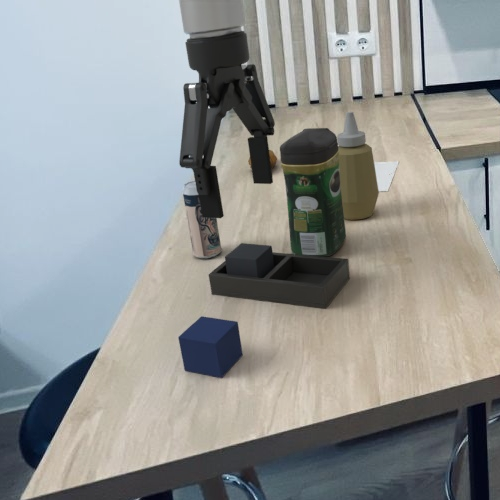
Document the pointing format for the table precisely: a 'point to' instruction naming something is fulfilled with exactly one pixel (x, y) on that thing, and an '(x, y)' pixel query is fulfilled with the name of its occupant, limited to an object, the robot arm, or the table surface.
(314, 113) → the table surface
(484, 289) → the table surface
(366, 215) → the squeeze bottle
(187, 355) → the navy blue cube
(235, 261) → the charcoal cube
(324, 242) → the coffee jar
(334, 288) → the divided tray
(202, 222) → the beer can
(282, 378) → the table surface
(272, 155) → the croissant
